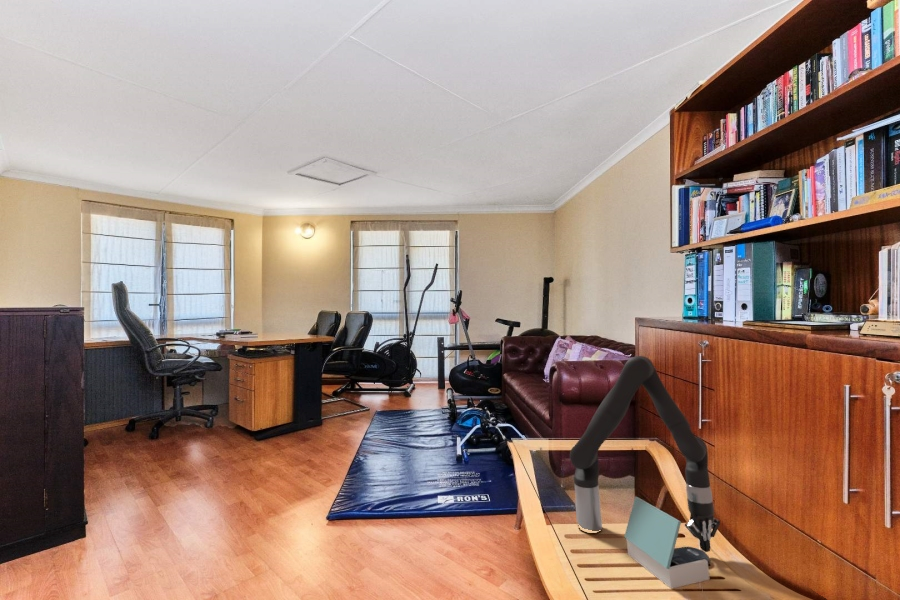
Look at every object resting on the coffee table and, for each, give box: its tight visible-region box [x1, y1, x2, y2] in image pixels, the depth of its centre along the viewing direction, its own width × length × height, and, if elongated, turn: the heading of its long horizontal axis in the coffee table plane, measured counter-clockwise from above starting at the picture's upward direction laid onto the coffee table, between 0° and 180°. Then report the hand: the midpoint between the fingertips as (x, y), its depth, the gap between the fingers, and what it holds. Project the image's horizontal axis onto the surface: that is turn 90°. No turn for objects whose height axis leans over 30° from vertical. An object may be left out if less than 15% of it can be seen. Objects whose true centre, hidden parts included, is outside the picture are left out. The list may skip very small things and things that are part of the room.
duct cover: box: [624, 496, 682, 569], centre depth 130 cm, size 20×14×1 cm
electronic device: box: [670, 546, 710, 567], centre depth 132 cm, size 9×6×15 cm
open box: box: [626, 539, 710, 589], centre depth 130 cm, size 20×14×6 cm
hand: (705, 550), depth 134 cm, fingers closed
